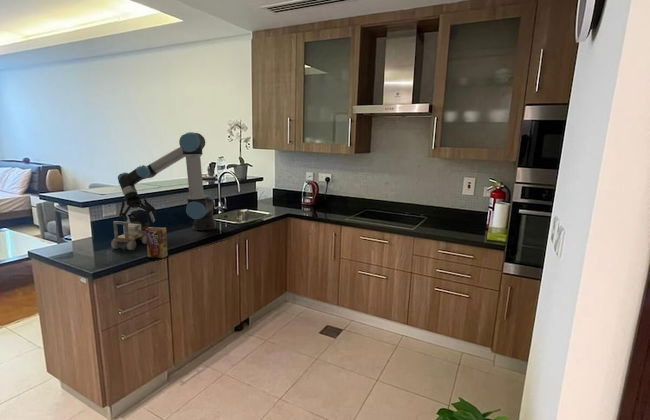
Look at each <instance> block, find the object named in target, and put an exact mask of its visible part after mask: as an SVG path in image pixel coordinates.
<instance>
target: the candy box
mask: <svg viewBox="0 0 650 420" xmlns="http://www.w3.org/2000/svg"><path fill="white" fill-rule="evenodd" d="M146 237H147V244H146V248H147V258H161V259H164V258H166V257H168V255H169V254H168V237H167V227H158V226H157V227H155V226H149V228H147V229H146Z"/></svg>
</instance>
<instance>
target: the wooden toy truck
mask: <svg viewBox="0 0 650 420" xmlns="http://www.w3.org/2000/svg"><path fill="white" fill-rule="evenodd" d="M112 222H113V223H112V225H113V235H114V238H113V239H112V240H111V243H110V245H111V248H112V249H116V250H117V249H120V247H121V246H122V243H126V248H127V250H128V251H134V250H135V249H136V248H137V241H136V240H135V239H137V238H139V237H142V238H141V240H140V241H141V243H142V244H144V245H147V237H146V231H141V224H128V222H127V221H119V220H114V221H112ZM118 225H123V226H122V227H123V229H122V230H123V233H122V234H121V235H119V232H118Z"/></svg>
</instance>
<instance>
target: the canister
mask: <svg viewBox="0 0 650 420" xmlns="http://www.w3.org/2000/svg"><path fill="white" fill-rule="evenodd" d="M149 217H150V216H149V212H147V211H146V210H144V209H137V210H133V211H131V212H130V222H131V224H141V231H146V229H147V228H149V227H150V220H149ZM141 238H142V237H139V238H137V239H135V241H136V240H137V241H139V240H140V241H141Z"/></svg>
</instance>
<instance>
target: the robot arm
mask: <svg viewBox="0 0 650 420" xmlns="http://www.w3.org/2000/svg"><path fill="white" fill-rule="evenodd" d="M178 144H179V146H177V147H176V148H174V149H173V150H171V151H169V152H167V153H166V154H164V155H162V156H161V157H159V158H158V159H156V160H154V161H152V162H151V163H149V164H148V165H145V164H141V165H139V166H137V167H136V168H135V169H133V170H131V171H130V172H129V173H128V172H122V173H120V174H119V175H118V176H117V181H118V184H119V186H120V189H121V191H122V195H123V196H124V199H125V200H121V203H120V204H121V207H120V211H119V214H118V216H119V217H122V218H123V219H124V222H128V224H131V218H130V217H129V215H128V213H129V211H130V210H131V209H134V208H135V209H137V208H139V209H141V210H145V211H147V212H148V216H149V217H150V220H151V222H152V223H154V222H155V221H156V219H155V212H156V208H155V207H154V206H153V205H151V203H150V202H148V201H147V199H146V198H144V199H140V196H139V193H138V191H137V187H136V186H135V185H136V184H138V183H140V182H141V181H143V180H146V179H153V178H154V177H156V176H157V175H158V174H159V173H161V172H162V171H164V170H165V169H168V168H169V167H171V166H172V165H174V164H175V163H177V162H179V161H180V160H182V159H184V158H185V163H186V173H187V186H188V194H189V195H188V196H187V198H186V200H187V201H186V202H187V205H186V207H185V213H186V214H187V216H188V217H190V218H191V219H194V221H193V225H192V230H193V229H194V231H197V230H201V231H200V232H205V231H204V230H209V231H212V229H213V230H215V229H217V224H216V221H215V218H214V206H213V205H214V204H213V202H214V200H213V196H211V195H205V194H204V183H203V173H202V170H203V169H202V161H201V157H202V155H203V149H204V148H205V146H206V139H205V137H204V136H203V135H202V134H200V133H198V132H193V131H192V132H191V131H190V132H189V131H188V132H186V133H183V134H182V135H180V138H179V141H178ZM126 205H127V208H126V209H125V206H126ZM124 209H125V211H124ZM202 230H203V231H202Z"/></svg>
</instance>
